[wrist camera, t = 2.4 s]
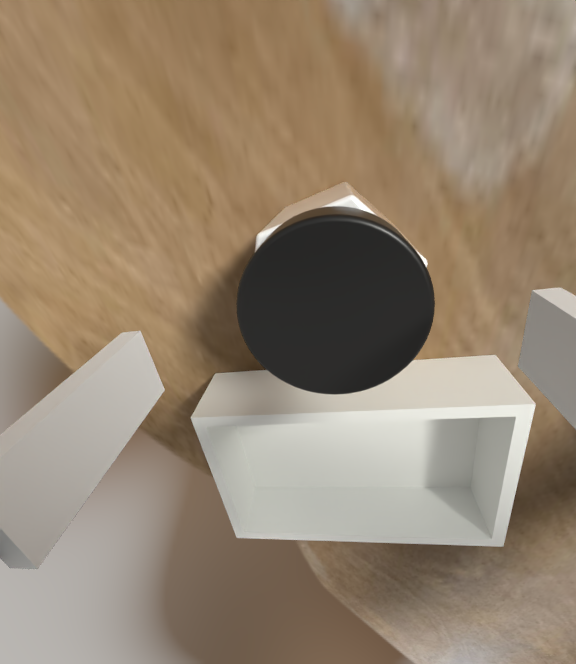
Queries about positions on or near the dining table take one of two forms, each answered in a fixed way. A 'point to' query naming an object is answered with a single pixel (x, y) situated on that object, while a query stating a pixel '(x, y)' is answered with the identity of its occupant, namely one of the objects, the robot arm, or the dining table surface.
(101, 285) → the dining table surface
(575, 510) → the dining table surface
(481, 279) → the dining table surface
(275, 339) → the jar
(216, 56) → the dining table surface
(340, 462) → the bin
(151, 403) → the robot arm
